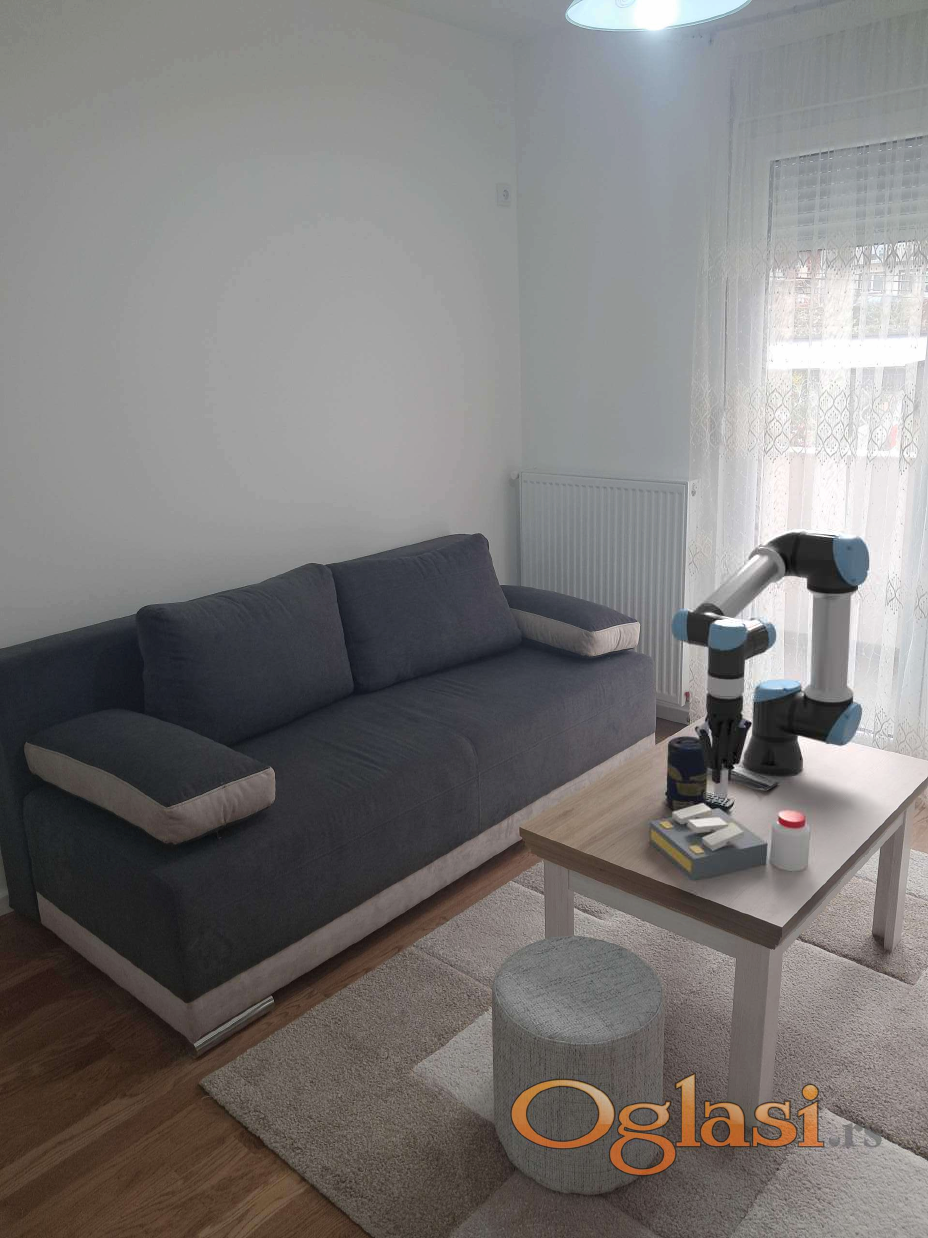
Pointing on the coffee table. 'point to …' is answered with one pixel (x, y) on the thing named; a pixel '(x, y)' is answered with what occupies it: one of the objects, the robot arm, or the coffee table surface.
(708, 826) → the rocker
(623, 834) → the coffee table surface
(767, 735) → the robot arm
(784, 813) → the pill bottle
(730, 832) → the block
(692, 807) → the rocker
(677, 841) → the switch unit
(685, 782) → the canister
